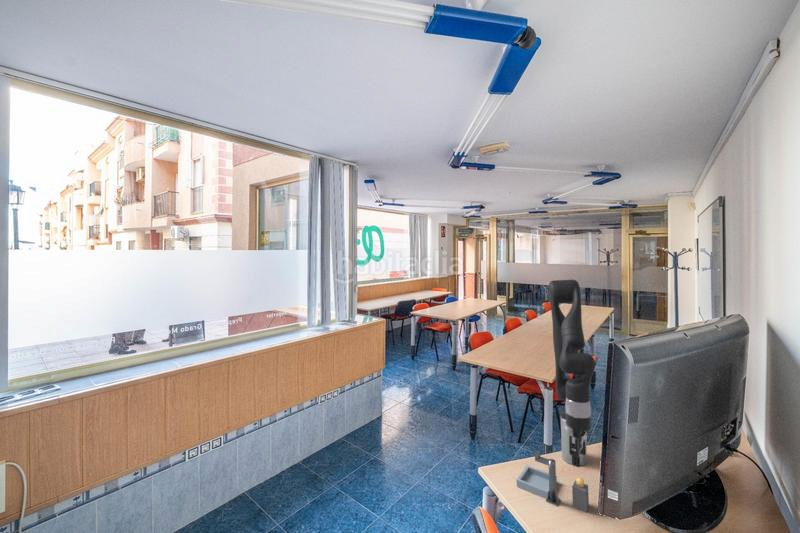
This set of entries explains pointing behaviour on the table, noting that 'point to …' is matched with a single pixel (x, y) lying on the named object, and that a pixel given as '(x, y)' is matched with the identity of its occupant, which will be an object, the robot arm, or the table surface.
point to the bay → (534, 481)
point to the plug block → (580, 495)
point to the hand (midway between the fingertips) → (579, 459)
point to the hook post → (552, 477)
